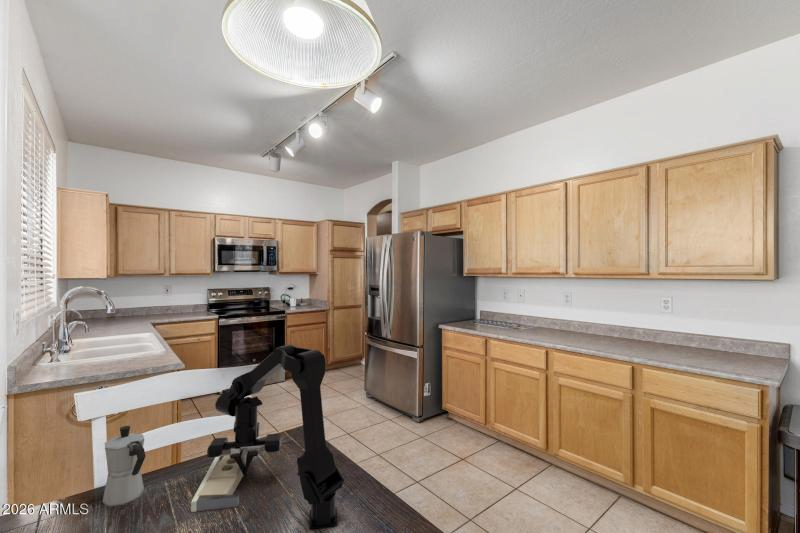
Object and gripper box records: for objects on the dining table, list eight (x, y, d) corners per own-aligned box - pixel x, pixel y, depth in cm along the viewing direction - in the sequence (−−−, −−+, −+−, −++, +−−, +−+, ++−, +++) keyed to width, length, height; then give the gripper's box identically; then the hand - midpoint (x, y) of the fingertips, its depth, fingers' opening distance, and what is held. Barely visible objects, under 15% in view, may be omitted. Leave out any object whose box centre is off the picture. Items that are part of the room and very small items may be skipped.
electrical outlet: (197, 491, 92) (224, 455, 110) (197, 507, 92) (223, 468, 110) (226, 490, 93) (248, 454, 111) (226, 506, 93) (248, 467, 111)
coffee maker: (91, 497, 95) (92, 428, 95) (129, 480, 103) (130, 416, 103) (121, 516, 88) (123, 441, 88) (160, 496, 96) (161, 427, 96)
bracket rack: (237, 506, 92) (237, 496, 92) (190, 512, 90) (191, 501, 90) (253, 459, 115) (253, 451, 115) (216, 463, 112) (216, 455, 112)
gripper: (283, 406, 113) (282, 457, 113) (218, 410, 109) (217, 463, 109) (279, 421, 102) (278, 477, 102) (206, 427, 98) (206, 485, 98)
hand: (245, 475), depth 103 cm, fingers closed
